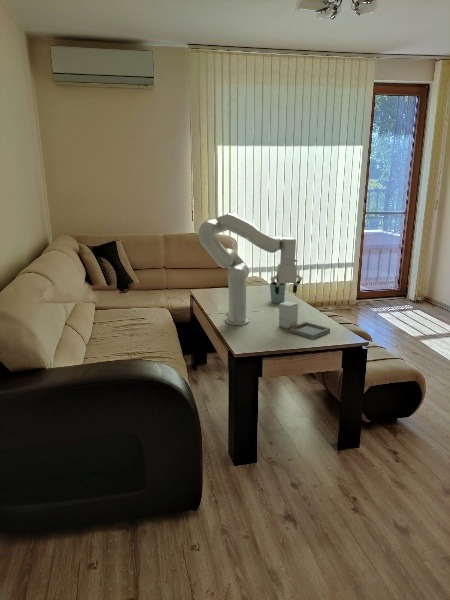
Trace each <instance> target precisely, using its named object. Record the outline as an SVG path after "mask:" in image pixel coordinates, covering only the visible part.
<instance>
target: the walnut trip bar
mask: <svg viewBox="0 0 450 600" xmlns="http://www.w3.org/2000/svg"><path fill="white" fill-rule="evenodd" d="M307 322H308V321H302V322H299V323H297V325H294V326H291V327H288V328H286V330H287V333H291V332H290V330H291V328H292V329H298V328H300V327H303V326H306V325H307Z"/></svg>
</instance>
